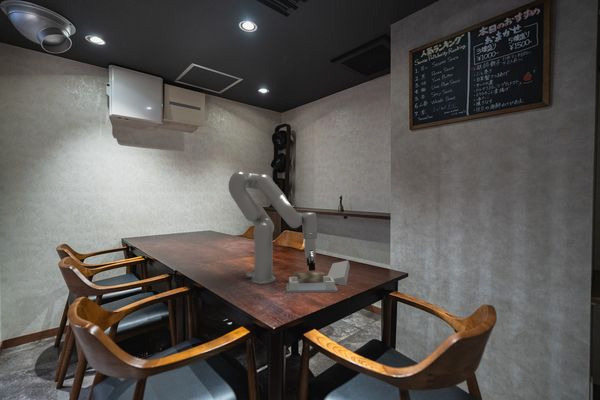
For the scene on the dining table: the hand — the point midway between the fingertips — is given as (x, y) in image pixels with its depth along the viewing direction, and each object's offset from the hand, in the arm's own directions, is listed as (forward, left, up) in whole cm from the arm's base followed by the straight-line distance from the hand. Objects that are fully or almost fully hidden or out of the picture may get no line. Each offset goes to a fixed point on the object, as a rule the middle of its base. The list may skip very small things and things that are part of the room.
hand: (311, 267), depth 138 cm
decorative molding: (+17, +10, -8) cm, 21 cm away
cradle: (-1, -11, -7) cm, 13 cm away
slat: (-1, 0, -7) cm, 7 cm away
